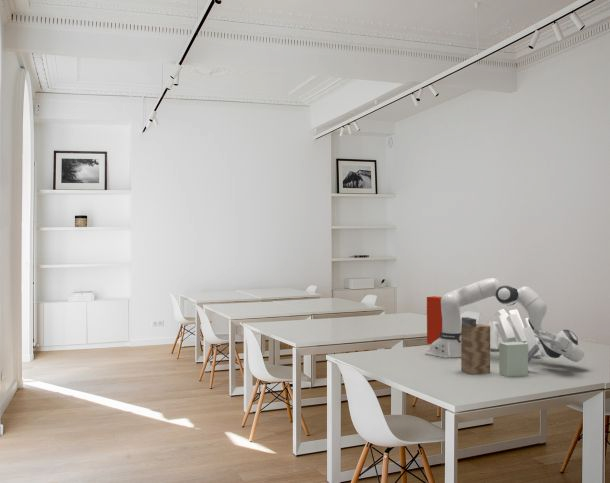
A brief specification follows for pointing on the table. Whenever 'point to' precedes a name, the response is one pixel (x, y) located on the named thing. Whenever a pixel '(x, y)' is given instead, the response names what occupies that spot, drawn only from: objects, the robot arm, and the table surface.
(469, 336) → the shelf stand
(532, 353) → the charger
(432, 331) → the file binder
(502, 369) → the block
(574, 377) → the table surface
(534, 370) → the table surface
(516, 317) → the pile of blocks
